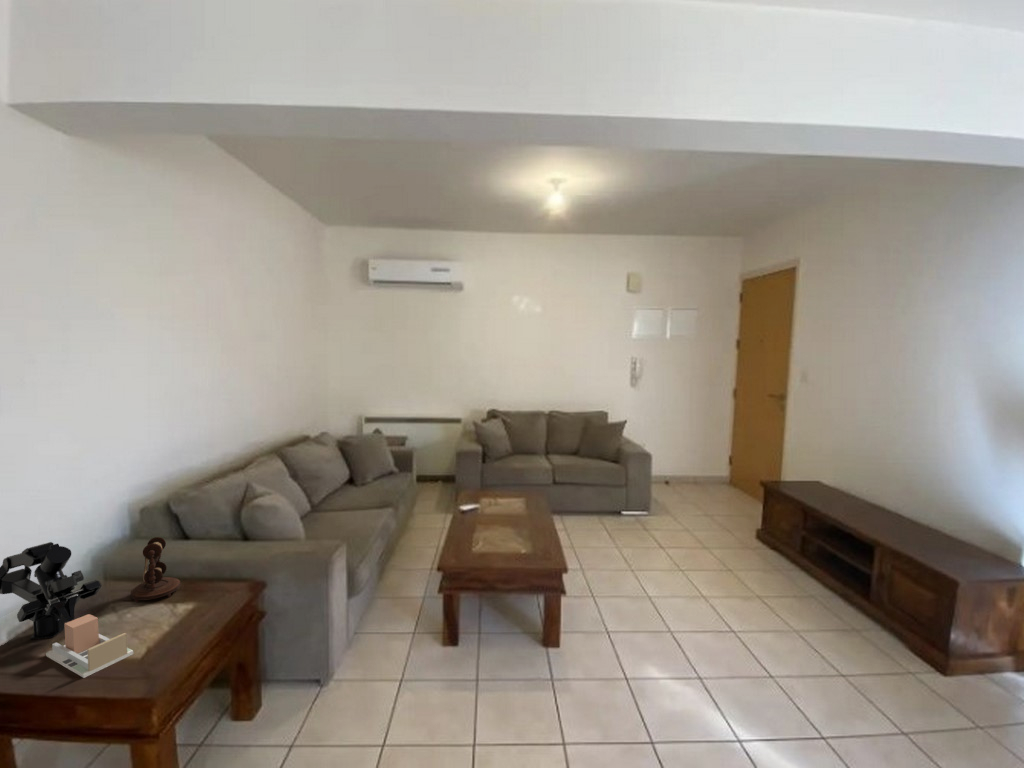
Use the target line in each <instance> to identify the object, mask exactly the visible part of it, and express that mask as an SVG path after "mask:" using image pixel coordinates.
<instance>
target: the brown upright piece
mask: <svg viewBox="0 0 1024 768" xmlns="http://www.w3.org/2000/svg"><path fill="white" fill-rule="evenodd" d="M165 547H166V540H165V539H164V538H163V537H160V536H156V537H152V538H151V539H150V540H148V542H147V544H146V545H145V547H144V548H143V550H142V555H143V557H144V567H143V568H144V569H143V574H142V579H143V582H142V583H140V584H138V585H136V586H135V587H134V588H132V589H131V591H130V597H131V598H132V599H133V600H134V602H135V603H139V601H147V600H149V601H150V600H155V599H157V598H158V599H159V598H162V597H165V596H167V597H168V598H170V597H171V595H172V593H174V592H176V591H177V590H178V589H179V588H180V587H181V580H179V578H175V577H170V576H169V577H167V576H164V574H165V573H166V572H167V564H166V563H165V562H163V561H161V558H162V552H163V550H164V549H165ZM148 563H149V564H148Z"/></svg>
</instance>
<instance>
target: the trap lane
mask: <svg viewBox="0 0 1024 768" xmlns="http://www.w3.org/2000/svg"><path fill="white" fill-rule="evenodd" d="M127 635H128V633H127V632H124V633H121V634H119V635H115V636H114V637H112V638H109V637H107V636H105V635H102V634H101V633H99V644H98V645H95V646H93V647H91V648H89V649H86V650H84V651H82V652H80V653H75V652H73V651H72V650H70V649H68V648H66V646H65V644H64V645H62V644H60V643H58V642H54V643H52V645H51V647H52V649H51V650H49V651H47V652H46V653H45V655H46V657H47V658H48V659H50V660H52V661H54V662H55V663H58V664H59V665H61V666H63V667H64V668H66V669H67V670H69V671H71V672H73V673H75V674H76V675H78V676H80V677H81V678H83V679H84V678H87V677H90V675H93V674H94V673H95V674H96V673H97V672H99V671H101V670H103V669H106V668H107V667H109V666H112V665H113V664H117V663H118V662H121V661H122V660H124V659H126V658H128V657H131V656H132V655H134V650H133V649H131V648H129V647H128V637H127Z"/></svg>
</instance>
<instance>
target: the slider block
mask: <svg viewBox="0 0 1024 768" xmlns="http://www.w3.org/2000/svg"><path fill="white" fill-rule="evenodd" d="M64 627H65V629H64V638H65V639H64V642H65V644H64V645H65V646H66V648H68V649H70V650H72V651H73V652H75V653H80V652H82V651H84V650H86V649H89V648H91V647H93V646H95V645H98V644H99V634H100V631H99V618H98V617H96V616H95V615H92V614H90V613H88V614H85V615H83V616H81V617H80V616H79V617H78V618H74V620H72V621H70V622H67V623H65V624H64Z"/></svg>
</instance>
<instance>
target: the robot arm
mask: <svg viewBox="0 0 1024 768" xmlns="http://www.w3.org/2000/svg"><path fill="white" fill-rule="evenodd" d="M71 557H72V550H71V549H70V548H69V547H66V546H63V545H60V544H59V543H54V542H52V541H50V542H46V543H41V544H38V545H35V546H32V547H27V548H25V549H24V550H23V551H22V552H21V553H20V552H19V553H17V554H13V555H10V556H7V557H5V558H3V560H2V563H1V564H2V565H1V566H0V595H7V594H8V595H9V594H15V596H18V597H19V598H21V599H23V600H25V601H26V602H27V603H24V604H22V605H21V607H20V609H19V610H18V612H17V614H16V618H17V620H18V623H23V622H25V621H28V620H29V621H32V622H33V623H32V625H33V635H31V636H30V637H29V639H30V640H36V639H52V638H54V637H55V636H57V635H58V634H60V633H61V632H62V631H65V627H64V624H65V623H67V622H70V621H72V620H75V607H76V605H77V603H78V601H79V599H83V600H85V599H88V598H91V597H93V596H96V595H97V594H98V592H99V590H100V589H101V587H102V584H101V581H99V580H97V579H95V580H91V581H89V582H85V583H83V584H82V586H81V587H80V589H77V590H75V588H76V586H78V585H79V584H78V583H79V582H81V581H84V579H85V578H84V573H83V572H82V570H77V571H75V572H72V573H71V575H70V576H68V575H67V574H64V572H63V569H64V568H65V567H66V566H67V564H68V561H70V558H71ZM37 565H38V566H37ZM21 566H24V568H20V569H18V570H13V571H10V570H11V569H14V568H18V567H21ZM34 566H37V567H36V568H35V569H34V572H33V573H34V575H33V577H34V578H36V580H37V582H35V581H33V580H31V577H32V575H31V574H32V571H33V570H32V568H31V567H34ZM73 590H74V591H73Z"/></svg>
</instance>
